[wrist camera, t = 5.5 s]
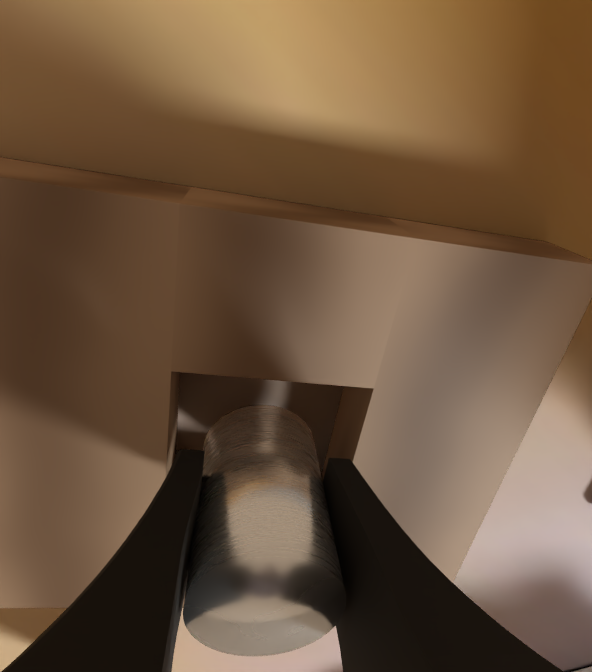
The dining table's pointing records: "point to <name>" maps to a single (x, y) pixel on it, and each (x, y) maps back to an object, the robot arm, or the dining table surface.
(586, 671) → the crayon box
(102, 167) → the dining table surface
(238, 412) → the steel roller
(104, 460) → the socket board
